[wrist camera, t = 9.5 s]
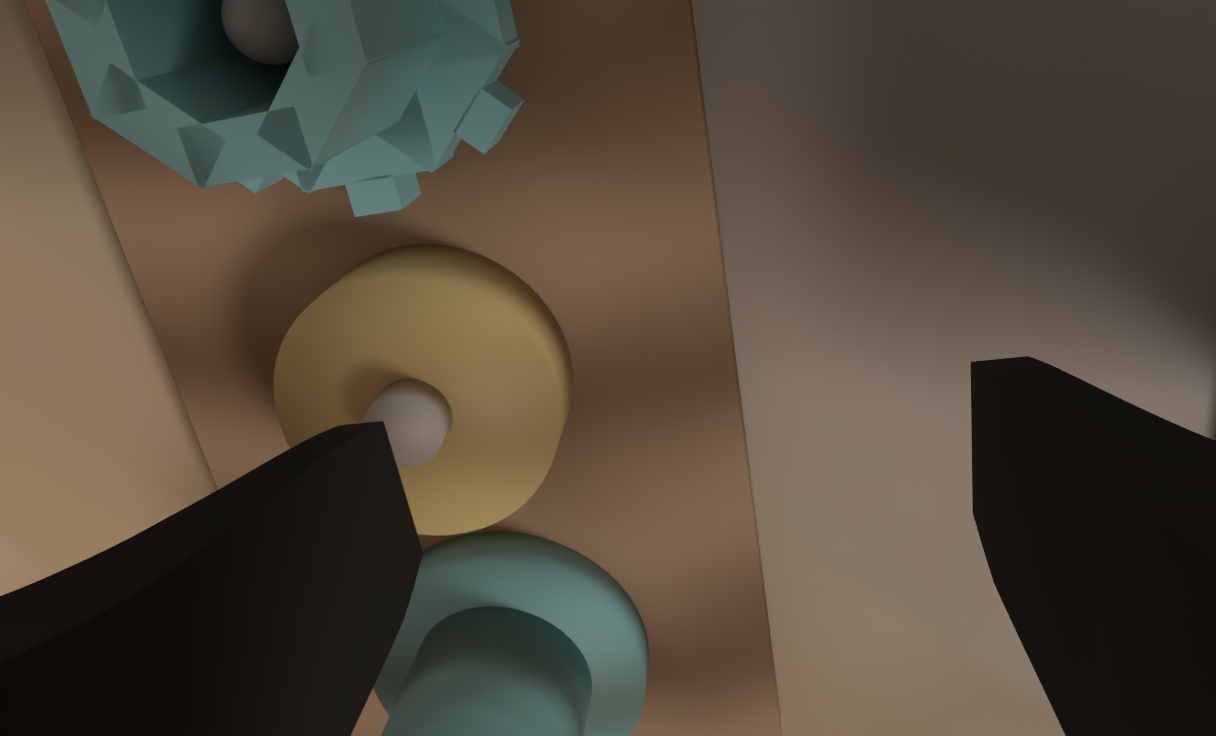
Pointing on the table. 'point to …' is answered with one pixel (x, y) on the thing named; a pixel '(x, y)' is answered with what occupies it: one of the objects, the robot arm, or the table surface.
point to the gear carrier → (497, 378)
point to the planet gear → (299, 90)
